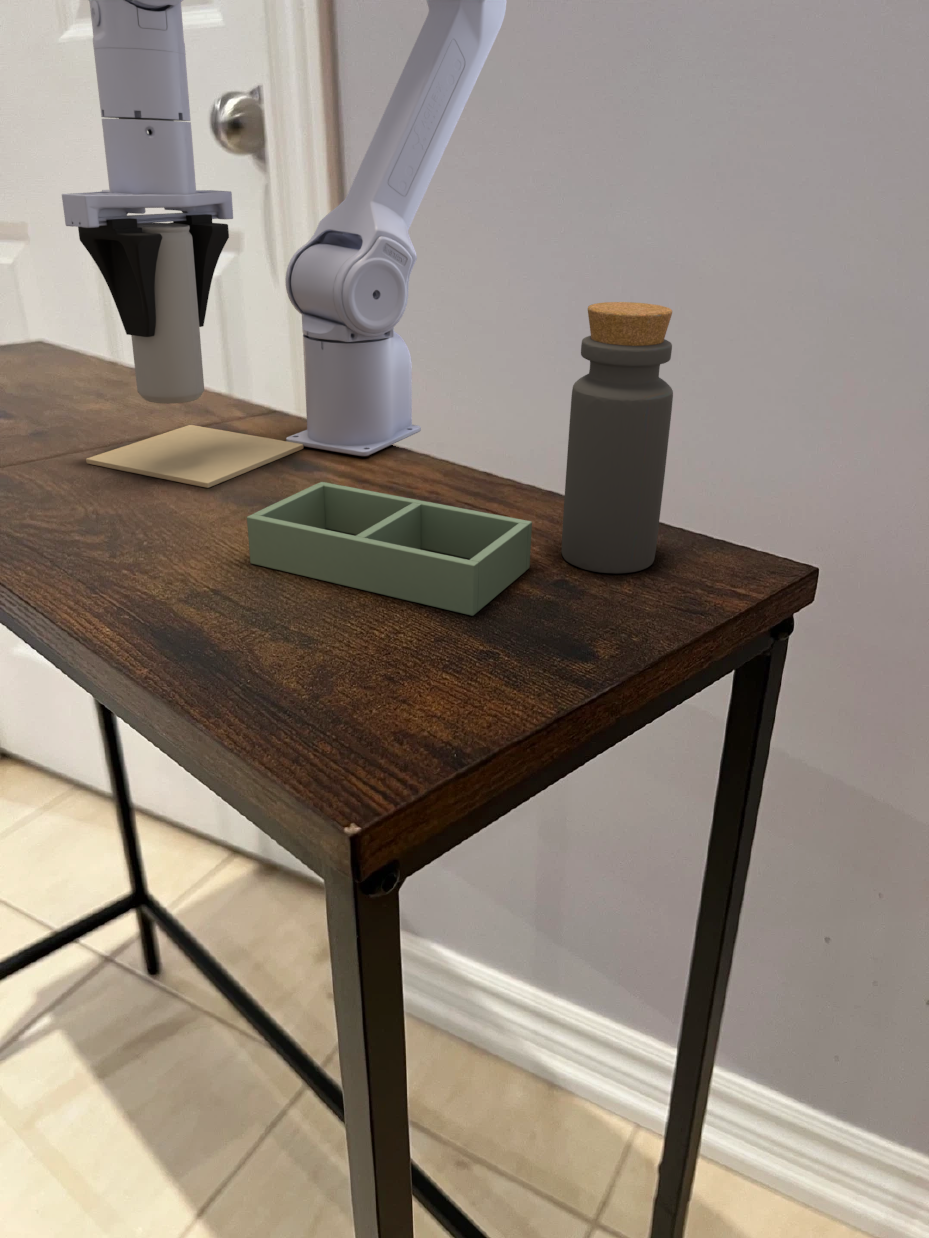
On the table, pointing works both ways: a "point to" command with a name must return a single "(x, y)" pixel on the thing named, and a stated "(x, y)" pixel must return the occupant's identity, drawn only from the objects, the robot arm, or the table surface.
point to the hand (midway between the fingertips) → (166, 330)
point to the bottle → (618, 440)
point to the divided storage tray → (392, 545)
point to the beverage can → (171, 324)
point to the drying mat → (196, 455)
